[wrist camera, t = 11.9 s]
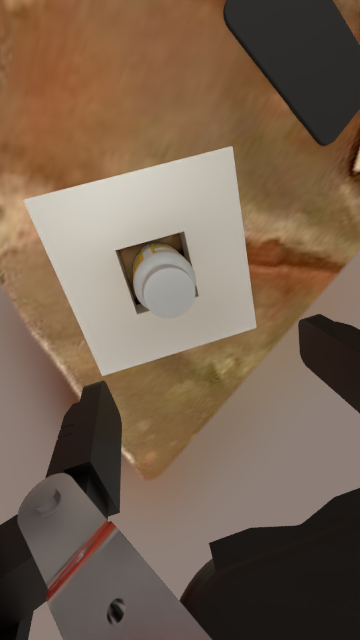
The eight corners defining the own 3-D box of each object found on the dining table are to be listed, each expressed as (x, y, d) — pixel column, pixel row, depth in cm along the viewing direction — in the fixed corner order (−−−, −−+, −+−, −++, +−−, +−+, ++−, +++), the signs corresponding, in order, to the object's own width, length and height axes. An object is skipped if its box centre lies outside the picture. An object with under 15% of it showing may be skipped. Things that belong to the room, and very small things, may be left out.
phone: (281, -88, 20) (382, 80, 25) (275, -77, 21) (374, 84, 26) (218, 11, 21) (326, 150, 27) (215, 18, 22) (321, 152, 27)
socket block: (220, 152, 25) (232, 146, 23) (245, 318, 33) (256, 327, 30) (34, 201, 24) (22, 199, 21) (104, 361, 32) (102, 376, 29)
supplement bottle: (166, 232, 27) (185, 243, 19) (190, 276, 30) (216, 304, 21) (122, 259, 28) (119, 282, 19) (148, 300, 30) (157, 338, 21)
